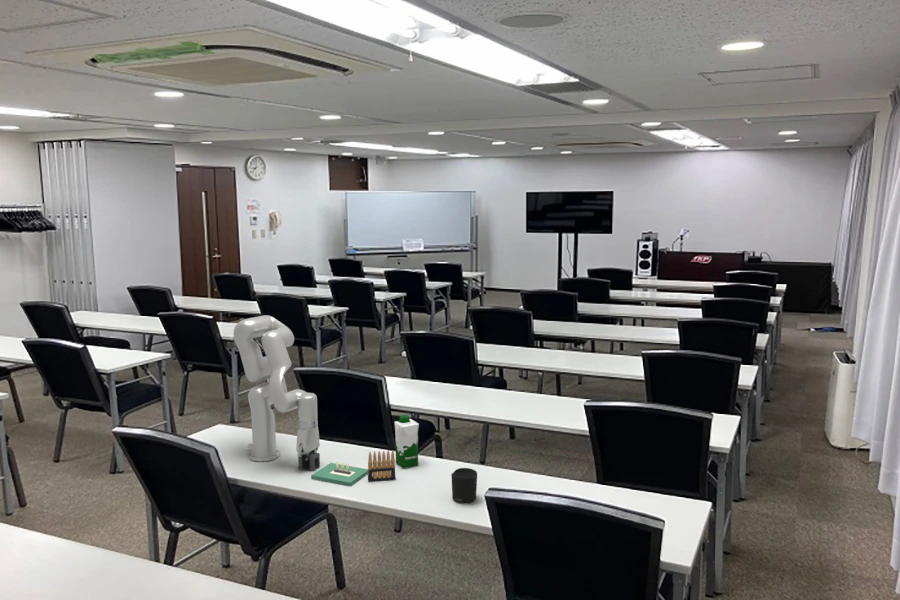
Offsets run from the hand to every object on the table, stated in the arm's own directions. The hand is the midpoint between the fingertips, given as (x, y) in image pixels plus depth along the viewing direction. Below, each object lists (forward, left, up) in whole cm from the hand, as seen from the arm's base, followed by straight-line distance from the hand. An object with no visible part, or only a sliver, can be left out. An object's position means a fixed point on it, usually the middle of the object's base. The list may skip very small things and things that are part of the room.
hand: (309, 466), depth 275 cm
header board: (+16, -2, -1) cm, 16 cm away
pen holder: (+69, -2, -1) cm, 69 cm away
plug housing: (0, 0, -1) cm, 1 cm away
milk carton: (+35, +19, -1) cm, 40 cm away
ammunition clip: (+33, +1, -1) cm, 33 cm away
